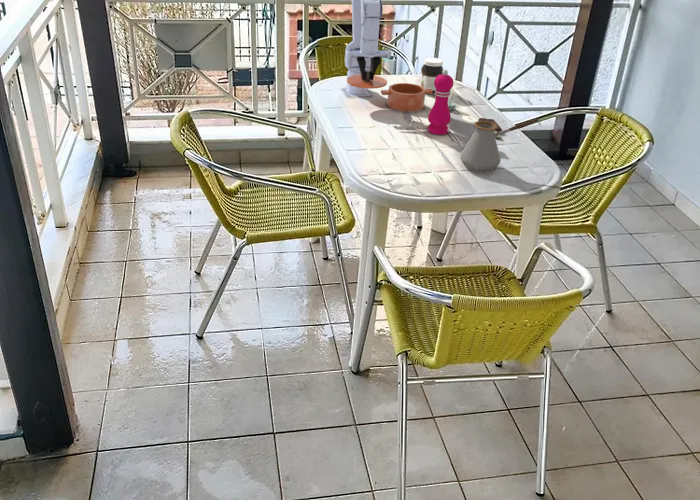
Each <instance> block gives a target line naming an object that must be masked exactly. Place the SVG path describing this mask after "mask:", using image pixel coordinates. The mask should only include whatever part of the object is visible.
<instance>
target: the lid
mask: <svg viewBox="0 0 700 500" xmlns="http://www.w3.org/2000/svg"><path fill="white" fill-rule="evenodd" d="M347 83H348V84H350V85H352V86H355V87H359V88H367V89H369V90H370V89H371V90H372V89H380V88H384V87H385V86H387V84H388V80H387V79H386V78H384V77H382V76H378V75H374V78H373V80H371V69H370V70H365V80H362V79H361V75H354V76H350V77H348V78H346V84H347Z"/></svg>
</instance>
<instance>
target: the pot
mask: <svg viewBox="0 0 700 500" xmlns="http://www.w3.org/2000/svg"><path fill="white" fill-rule="evenodd" d="M404 93H411V94H404ZM432 93H433V91H432V90H431V89H424V87H421V86H420V84H415V83H408V82H398V83H397V82H396V83H393V84H391V85H389V86H388V89H381V90H380V94H381V96H387V106H388V108H391V109H393V110H396V111H401V112H417V111H421V110H424V107H425V98H426V95H433V94H432Z"/></svg>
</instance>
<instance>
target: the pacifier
mask: <svg viewBox="0 0 700 500" xmlns="http://www.w3.org/2000/svg"><path fill="white" fill-rule="evenodd" d="M454 97H455V92H454V91H453V90H451V93H450V96H449V98H448V108H449V111H452V109H453V108H457V107H458V105H455V104H454V103H453V101H452V100H453V99H454Z"/></svg>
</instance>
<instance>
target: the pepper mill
mask: <svg viewBox="0 0 700 500" xmlns="http://www.w3.org/2000/svg"><path fill="white" fill-rule="evenodd" d="M434 86H435V88H436V89H435V93H434V94H433V95H435V98H434V99H435V100H434V103H433V106H432V107H431V109H430V111H429V112H428V116H427V120H428V123H429V124H428V126H427V127H428V128H427V131H428V132H429V133H430V134H433V135H438V136H442V135H446V134H447V133H448V131H449V126H448V125H449V124H450V123H451V120H452V119H451V116H452V115H451V110H449V108H448V98H449V96H450V93H451V91H452V88H453V87H454V79H453V77H452V76H451V75H449V70H448V69H443V71H442V74H441V75H438V76H437V77H436V78H435V81H434ZM450 89H451V91H450Z"/></svg>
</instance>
